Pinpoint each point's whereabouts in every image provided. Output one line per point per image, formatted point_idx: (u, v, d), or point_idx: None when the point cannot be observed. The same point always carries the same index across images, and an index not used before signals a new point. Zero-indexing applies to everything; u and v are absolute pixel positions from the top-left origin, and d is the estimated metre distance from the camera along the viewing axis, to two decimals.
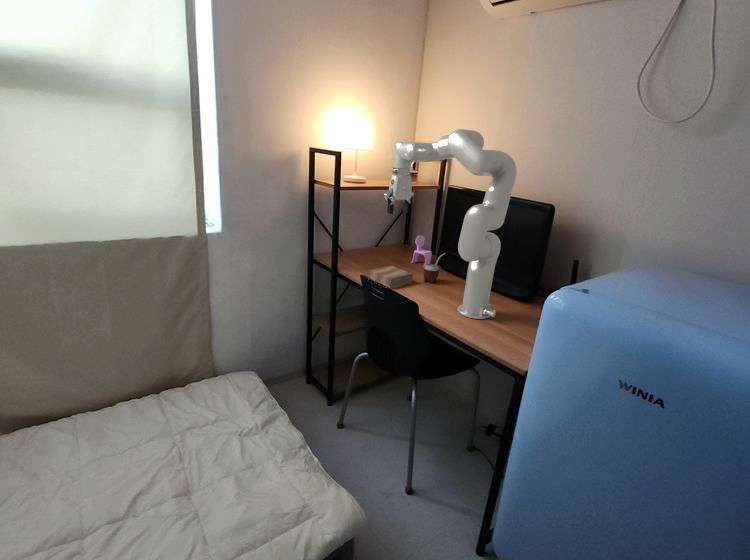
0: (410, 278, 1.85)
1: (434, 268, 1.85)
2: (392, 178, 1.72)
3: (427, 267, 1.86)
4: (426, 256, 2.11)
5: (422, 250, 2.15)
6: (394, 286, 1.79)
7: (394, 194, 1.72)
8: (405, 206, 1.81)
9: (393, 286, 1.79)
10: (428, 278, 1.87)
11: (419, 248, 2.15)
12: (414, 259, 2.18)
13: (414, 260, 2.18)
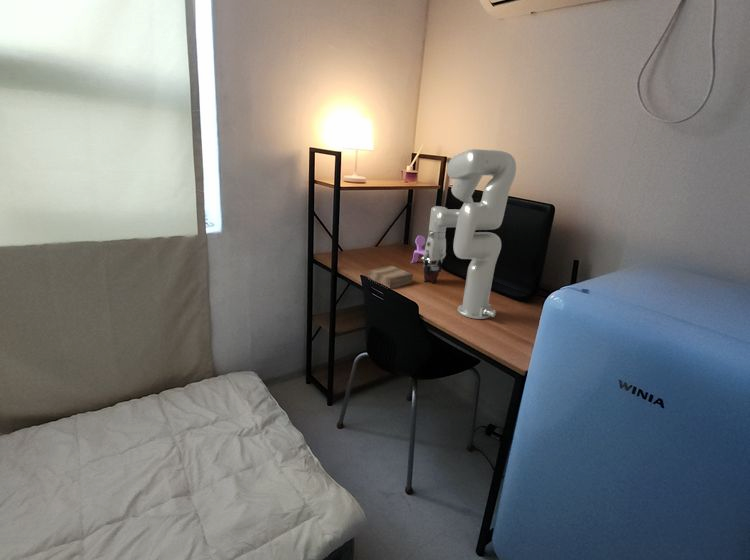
0: (410, 278, 1.85)
1: (434, 268, 1.86)
2: (428, 240, 1.81)
3: None
4: None
5: (422, 250, 2.15)
6: (393, 286, 1.79)
7: (430, 256, 1.81)
8: None
9: (393, 286, 1.79)
10: (428, 278, 1.88)
11: (419, 248, 2.15)
12: (414, 259, 2.18)
13: (414, 260, 2.18)
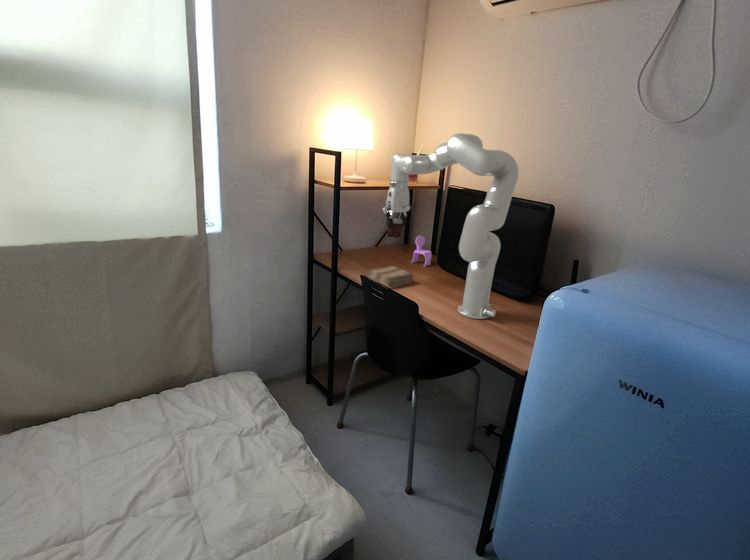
0: (410, 278, 1.85)
1: (397, 221, 1.76)
2: (389, 190, 1.71)
3: None
4: (426, 256, 2.11)
5: (422, 250, 2.15)
6: (393, 286, 1.79)
7: (391, 206, 1.71)
8: None
9: (392, 285, 1.79)
10: (391, 232, 1.78)
11: (419, 248, 2.15)
12: (414, 259, 2.18)
13: (414, 260, 2.18)
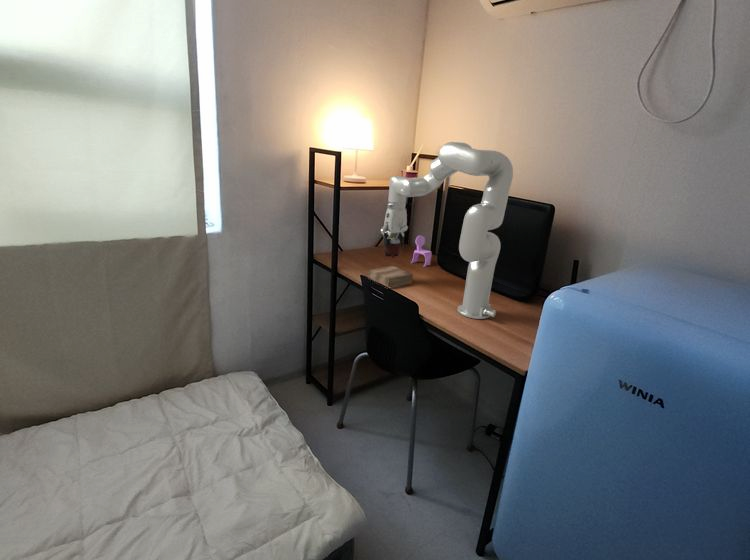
0: (410, 279, 1.85)
1: (394, 241, 1.79)
2: (387, 212, 1.74)
3: None
4: (426, 256, 2.11)
5: (422, 250, 2.15)
6: (392, 286, 1.79)
7: (389, 227, 1.74)
8: (399, 239, 1.83)
9: (391, 285, 1.79)
10: (388, 252, 1.81)
11: (419, 248, 2.15)
12: (414, 259, 2.18)
13: (414, 260, 2.18)
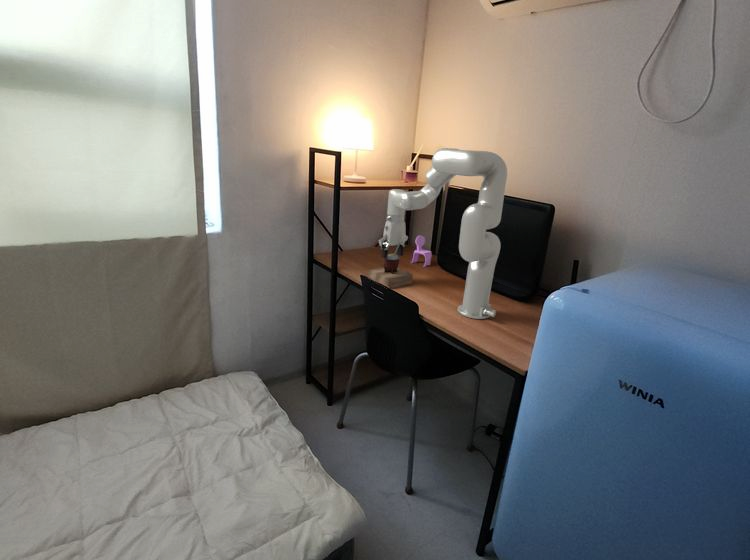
0: (410, 279, 1.85)
1: (393, 257, 1.81)
2: (386, 224, 1.76)
3: None
4: (426, 256, 2.11)
5: (422, 250, 2.15)
6: (392, 286, 1.79)
7: (388, 240, 1.76)
8: (399, 249, 1.85)
9: (391, 286, 1.79)
10: (387, 268, 1.83)
11: (419, 248, 2.15)
12: (414, 259, 2.18)
13: (414, 260, 2.18)
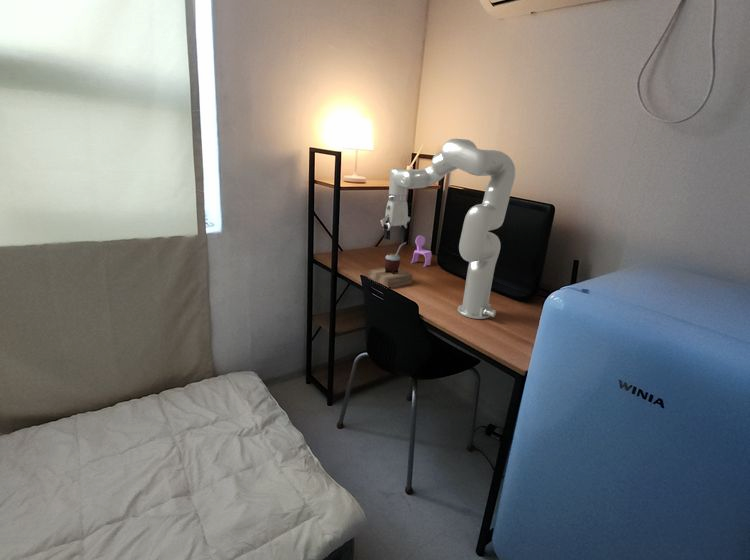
0: (410, 279, 1.85)
1: (395, 258, 1.81)
2: (388, 204, 1.73)
3: (388, 257, 1.81)
4: (426, 256, 2.11)
5: (422, 250, 2.15)
6: (392, 286, 1.79)
7: (390, 220, 1.73)
8: (402, 231, 1.82)
9: (391, 286, 1.79)
10: (389, 268, 1.83)
11: (419, 248, 2.15)
12: (414, 259, 2.18)
13: (414, 260, 2.18)
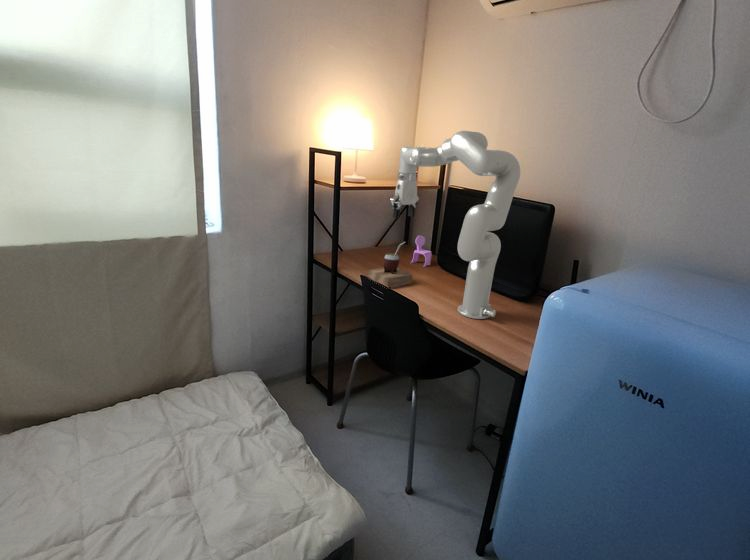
0: (409, 279, 1.84)
1: (394, 257, 1.81)
2: (398, 183, 1.72)
3: (387, 256, 1.82)
4: (426, 256, 2.11)
5: (422, 250, 2.15)
6: (392, 286, 1.79)
7: (400, 199, 1.72)
8: (410, 211, 1.82)
9: (391, 286, 1.79)
10: (388, 268, 1.83)
11: (419, 248, 2.15)
12: (414, 259, 2.18)
13: (414, 260, 2.18)
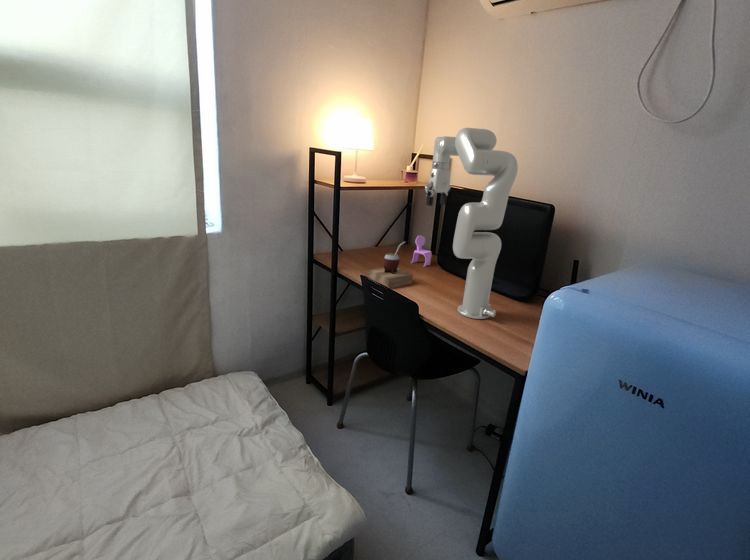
0: (410, 279, 1.85)
1: (394, 257, 1.81)
2: (432, 171, 1.80)
3: (387, 256, 1.81)
4: (426, 256, 2.11)
5: (422, 250, 2.15)
6: (392, 286, 1.79)
7: (434, 187, 1.81)
8: (443, 199, 1.90)
9: (391, 286, 1.79)
10: (388, 268, 1.83)
11: (419, 248, 2.15)
12: (414, 259, 2.18)
13: (414, 260, 2.18)
